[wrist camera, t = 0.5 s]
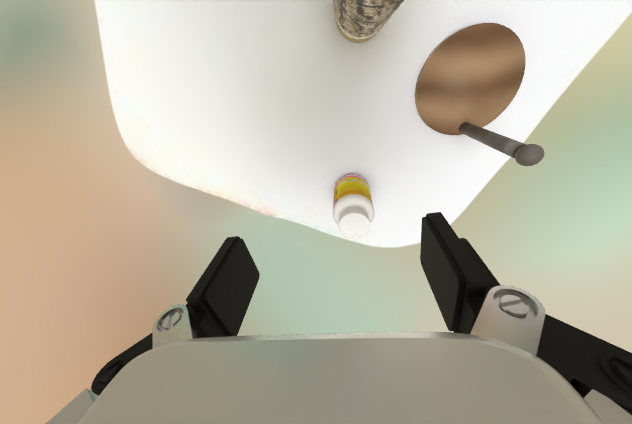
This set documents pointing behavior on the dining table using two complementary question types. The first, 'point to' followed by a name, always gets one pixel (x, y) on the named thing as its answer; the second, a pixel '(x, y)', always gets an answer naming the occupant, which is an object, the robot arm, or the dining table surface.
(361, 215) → the supplement bottle
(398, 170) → the dining table surface
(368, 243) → the dining table surface
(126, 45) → the dining table surface
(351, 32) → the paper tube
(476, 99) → the holder base
